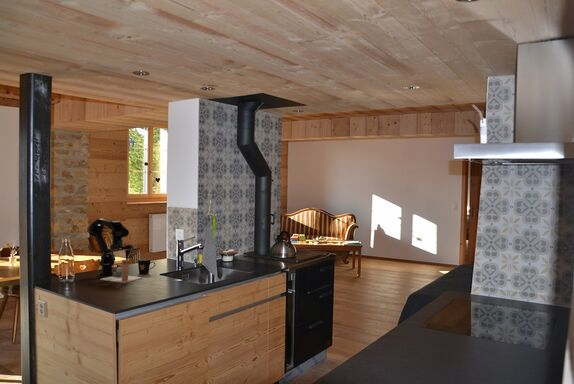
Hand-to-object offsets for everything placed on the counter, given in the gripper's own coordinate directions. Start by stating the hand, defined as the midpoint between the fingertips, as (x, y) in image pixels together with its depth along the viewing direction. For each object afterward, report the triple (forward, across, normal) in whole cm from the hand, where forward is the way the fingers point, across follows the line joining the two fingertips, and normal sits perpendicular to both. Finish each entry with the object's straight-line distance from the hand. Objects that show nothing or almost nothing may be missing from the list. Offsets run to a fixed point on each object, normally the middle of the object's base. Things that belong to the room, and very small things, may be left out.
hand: (120, 262), depth 314 cm
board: (+11, 0, -3) cm, 12 cm away
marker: (+13, +5, -9) cm, 16 cm away
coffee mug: (+11, +10, +16) cm, 22 cm away
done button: (+7, -3, +3) cm, 9 cm away
